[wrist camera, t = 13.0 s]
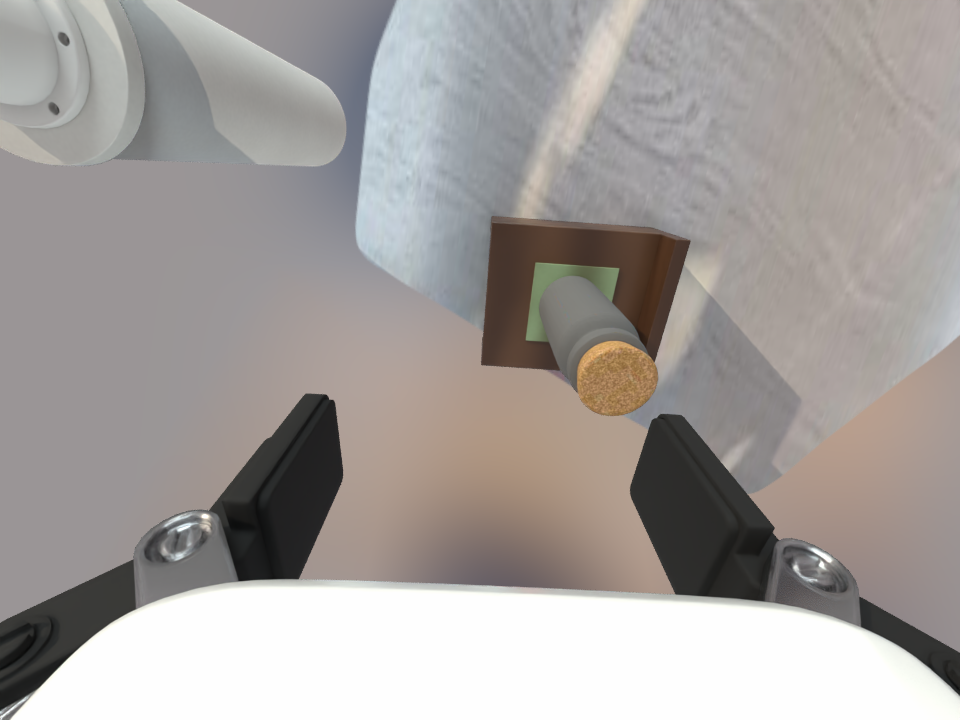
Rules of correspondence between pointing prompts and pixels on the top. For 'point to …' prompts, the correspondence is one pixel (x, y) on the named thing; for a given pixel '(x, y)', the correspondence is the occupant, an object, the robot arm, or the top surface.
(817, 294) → the top surface
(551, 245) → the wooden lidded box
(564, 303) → the bottle
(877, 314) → the top surface
